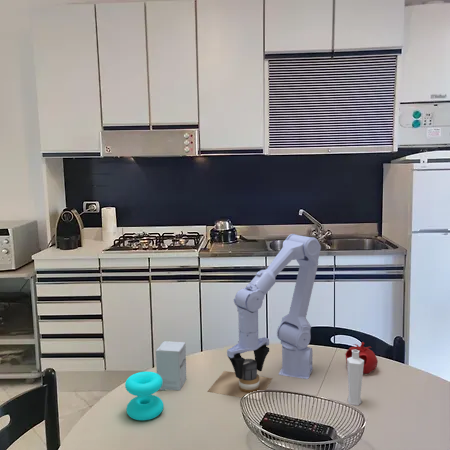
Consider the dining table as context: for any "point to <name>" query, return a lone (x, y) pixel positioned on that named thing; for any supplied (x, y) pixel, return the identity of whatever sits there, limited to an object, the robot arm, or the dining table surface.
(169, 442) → the dining table surface
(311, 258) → the robot arm
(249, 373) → the cap
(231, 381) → the board
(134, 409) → the donuts
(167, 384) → the supplement box
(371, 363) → the pomegranate
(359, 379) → the perfume bottle
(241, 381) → the jar
